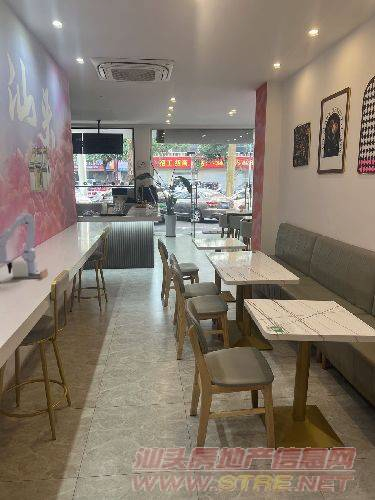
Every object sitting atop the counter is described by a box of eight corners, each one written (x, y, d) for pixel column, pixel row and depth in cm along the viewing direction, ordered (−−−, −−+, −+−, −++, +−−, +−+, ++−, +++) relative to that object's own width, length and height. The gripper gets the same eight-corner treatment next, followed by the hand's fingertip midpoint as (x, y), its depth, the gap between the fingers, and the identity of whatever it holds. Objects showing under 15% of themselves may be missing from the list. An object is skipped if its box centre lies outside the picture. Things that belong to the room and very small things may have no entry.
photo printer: (12, 278, 276) (10, 261, 274) (14, 277, 281) (12, 260, 278) (27, 278, 277) (25, 261, 275) (29, 276, 282) (27, 259, 279)
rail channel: (18, 275, 284) (17, 269, 283) (47, 275, 284) (47, 268, 283) (12, 279, 274) (11, 272, 273) (42, 278, 274) (42, 271, 273)
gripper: (-11, 256, 272) (-9, 275, 274) (10, 255, 272) (12, 274, 274) (-6, 254, 279) (-4, 272, 281) (14, 253, 279) (16, 272, 281)
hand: (4, 273), depth 278 cm, fingers open, 7 cm apart
